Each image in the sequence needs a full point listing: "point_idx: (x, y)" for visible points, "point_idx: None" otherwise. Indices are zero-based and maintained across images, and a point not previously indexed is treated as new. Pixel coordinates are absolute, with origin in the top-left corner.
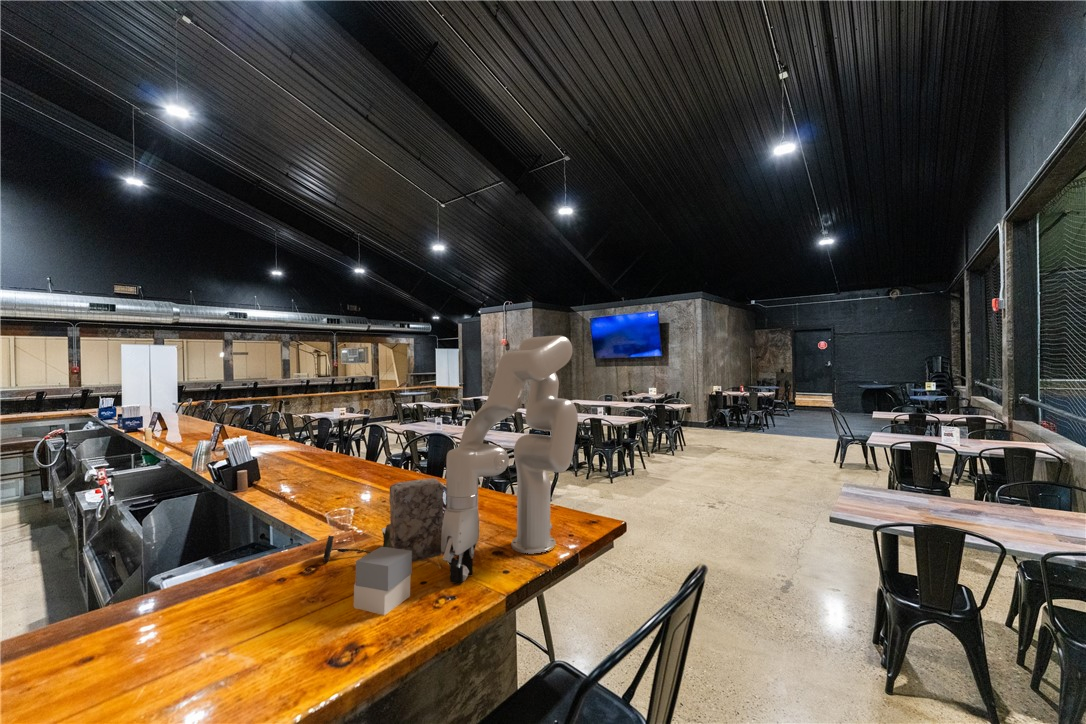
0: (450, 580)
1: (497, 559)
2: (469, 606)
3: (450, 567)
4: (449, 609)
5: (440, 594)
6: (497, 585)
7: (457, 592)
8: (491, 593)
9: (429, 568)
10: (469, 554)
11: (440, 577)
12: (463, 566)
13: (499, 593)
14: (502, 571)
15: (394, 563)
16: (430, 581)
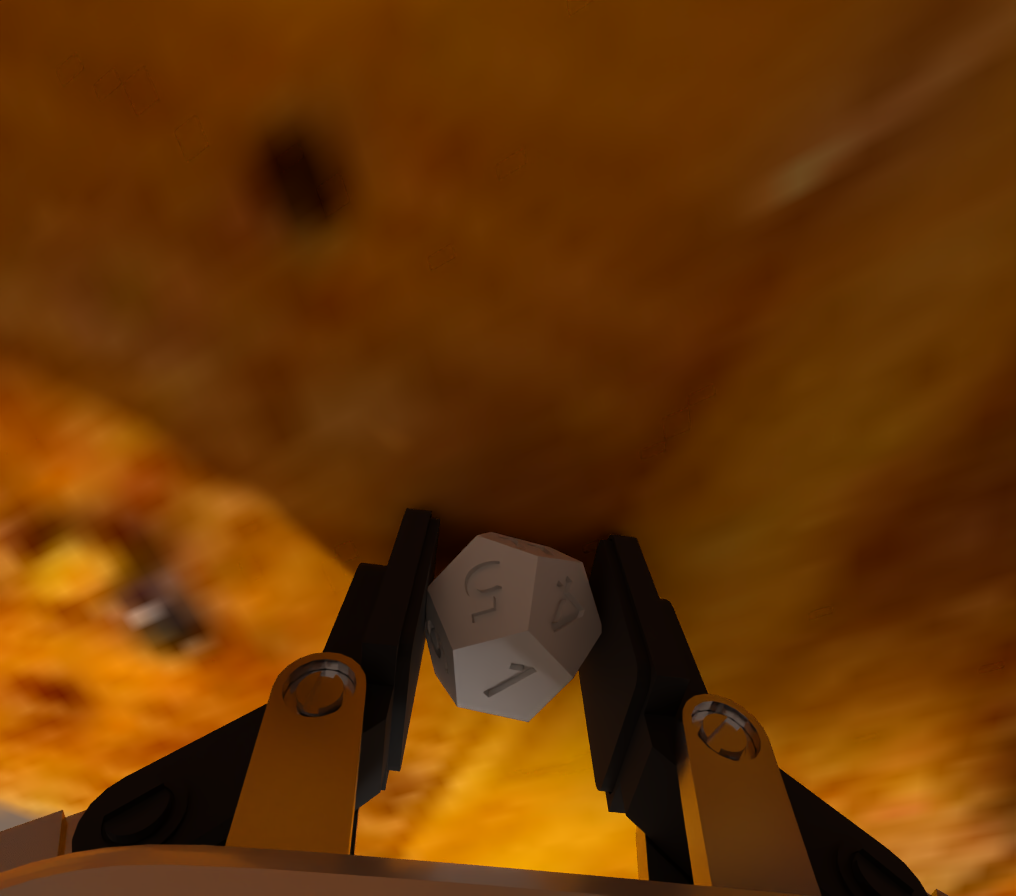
0: (406, 515)
1: (989, 712)
2: (129, 766)
3: (372, 617)
4: (5, 671)
5: (160, 511)
6: (487, 825)
7: (267, 629)
8: (361, 824)
9: (744, 8)
10: (659, 840)
11: (497, 338)
12: (515, 698)
13: None
14: None
15: None
16: (361, 262)
